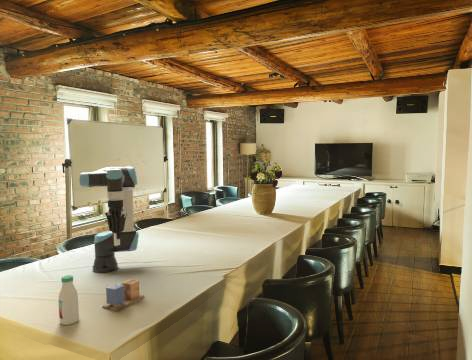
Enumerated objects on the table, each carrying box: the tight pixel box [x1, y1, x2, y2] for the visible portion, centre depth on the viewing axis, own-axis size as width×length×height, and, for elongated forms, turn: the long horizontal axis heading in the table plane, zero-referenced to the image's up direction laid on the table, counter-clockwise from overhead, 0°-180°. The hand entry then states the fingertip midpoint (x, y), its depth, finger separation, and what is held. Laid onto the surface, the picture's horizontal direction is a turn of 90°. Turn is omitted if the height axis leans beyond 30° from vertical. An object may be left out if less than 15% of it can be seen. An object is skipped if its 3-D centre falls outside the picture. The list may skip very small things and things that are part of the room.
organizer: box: [102, 278, 145, 313], centre depth 174 cm, size 10×18×9 cm, turn 155°
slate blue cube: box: [105, 283, 125, 305], centre depth 170 cm, size 6×6×8 cm
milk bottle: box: [58, 274, 80, 326], centre depth 155 cm, size 8×8×20 cm
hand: (117, 245), depth 182 cm, fingers closed
